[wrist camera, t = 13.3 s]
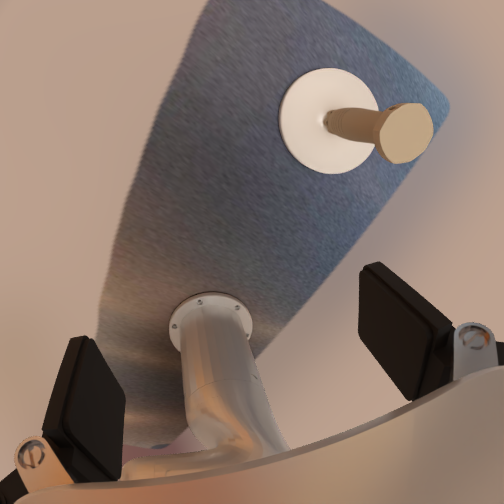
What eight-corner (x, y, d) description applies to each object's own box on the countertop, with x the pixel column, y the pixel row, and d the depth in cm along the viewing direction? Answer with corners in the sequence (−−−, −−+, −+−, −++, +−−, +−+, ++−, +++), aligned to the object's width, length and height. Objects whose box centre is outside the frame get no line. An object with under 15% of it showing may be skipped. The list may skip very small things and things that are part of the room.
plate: (379, 160, 43) (385, 162, 41) (290, 182, 41) (294, 185, 40) (364, 65, 36) (370, 64, 35) (267, 77, 35) (270, 76, 34)
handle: (360, 125, 38) (439, 139, 25) (323, 150, 39) (393, 174, 25) (343, 93, 36) (420, 93, 23) (304, 118, 37) (371, 126, 23)
